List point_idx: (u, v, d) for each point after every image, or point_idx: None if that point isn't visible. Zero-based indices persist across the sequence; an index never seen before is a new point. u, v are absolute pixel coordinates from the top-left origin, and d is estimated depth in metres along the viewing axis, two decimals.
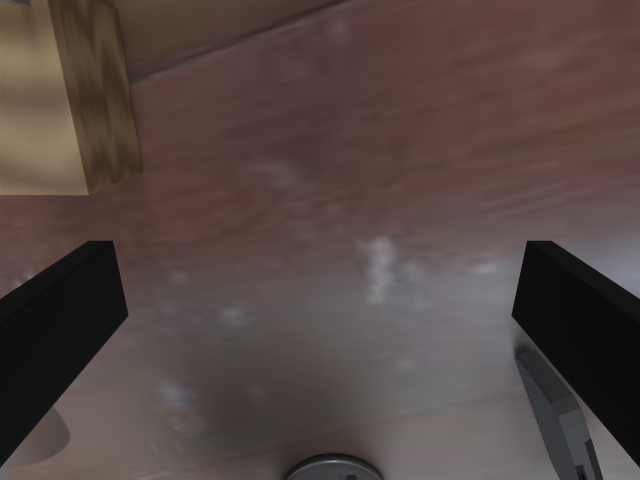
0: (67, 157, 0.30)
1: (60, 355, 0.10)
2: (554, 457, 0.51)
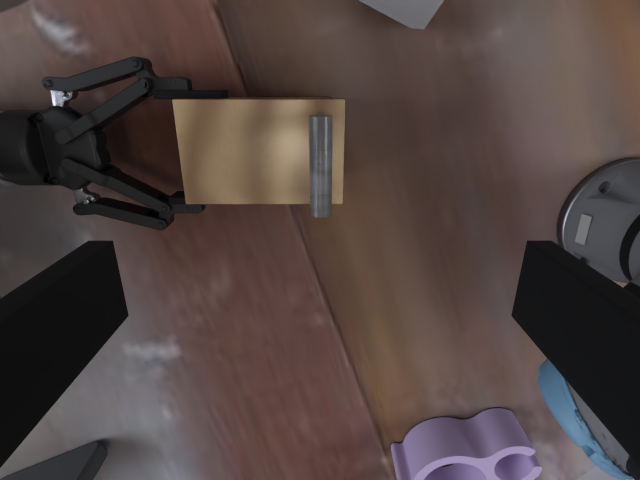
0: (214, 194, 0.38)
1: (60, 355, 0.10)
2: None
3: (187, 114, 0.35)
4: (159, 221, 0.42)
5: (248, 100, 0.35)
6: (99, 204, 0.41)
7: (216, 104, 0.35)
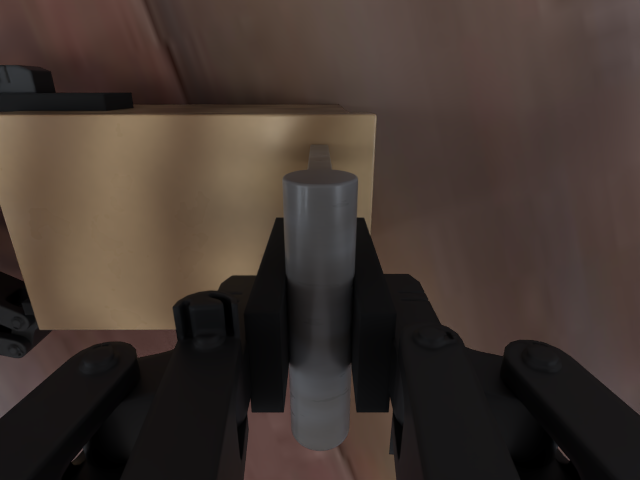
0: (96, 312, 0.18)
1: None
2: None
3: (13, 148, 0.15)
4: (11, 343, 0.22)
5: (151, 117, 0.15)
6: None
7: (77, 125, 0.15)
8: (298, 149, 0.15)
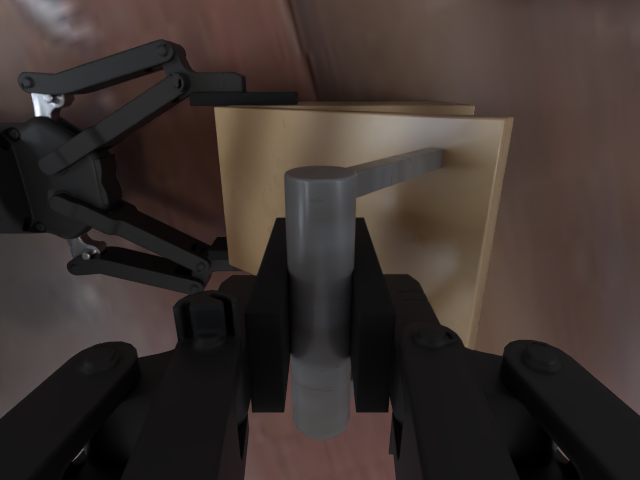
0: (258, 262, 0.23)
1: None
2: None
3: (229, 132, 0.21)
4: (193, 283, 0.29)
5: (304, 112, 0.18)
6: (105, 260, 0.28)
7: (261, 117, 0.20)
8: (414, 151, 0.15)
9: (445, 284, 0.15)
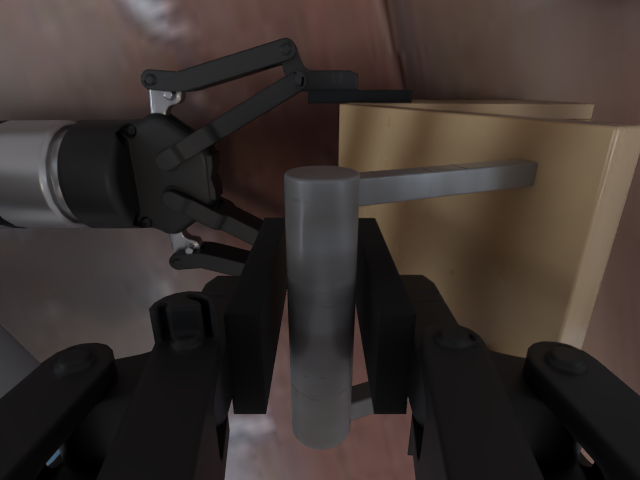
0: None
1: (278, 307, 0.12)
2: None
3: (348, 129, 0.22)
4: None
5: (406, 111, 0.17)
6: (207, 254, 0.28)
7: (372, 115, 0.19)
8: None
9: (522, 330, 0.12)
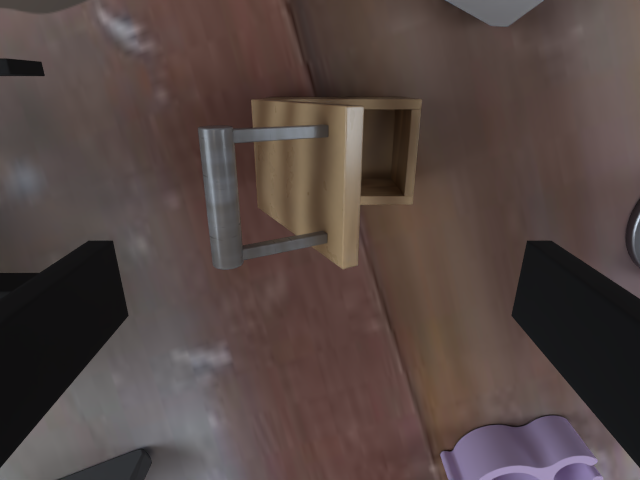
0: (268, 205, 0.34)
1: (60, 355, 0.10)
2: None
3: (256, 115, 0.33)
4: None
5: (282, 102, 0.28)
6: None
7: (267, 105, 0.30)
8: None
9: (333, 213, 0.24)
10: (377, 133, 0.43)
